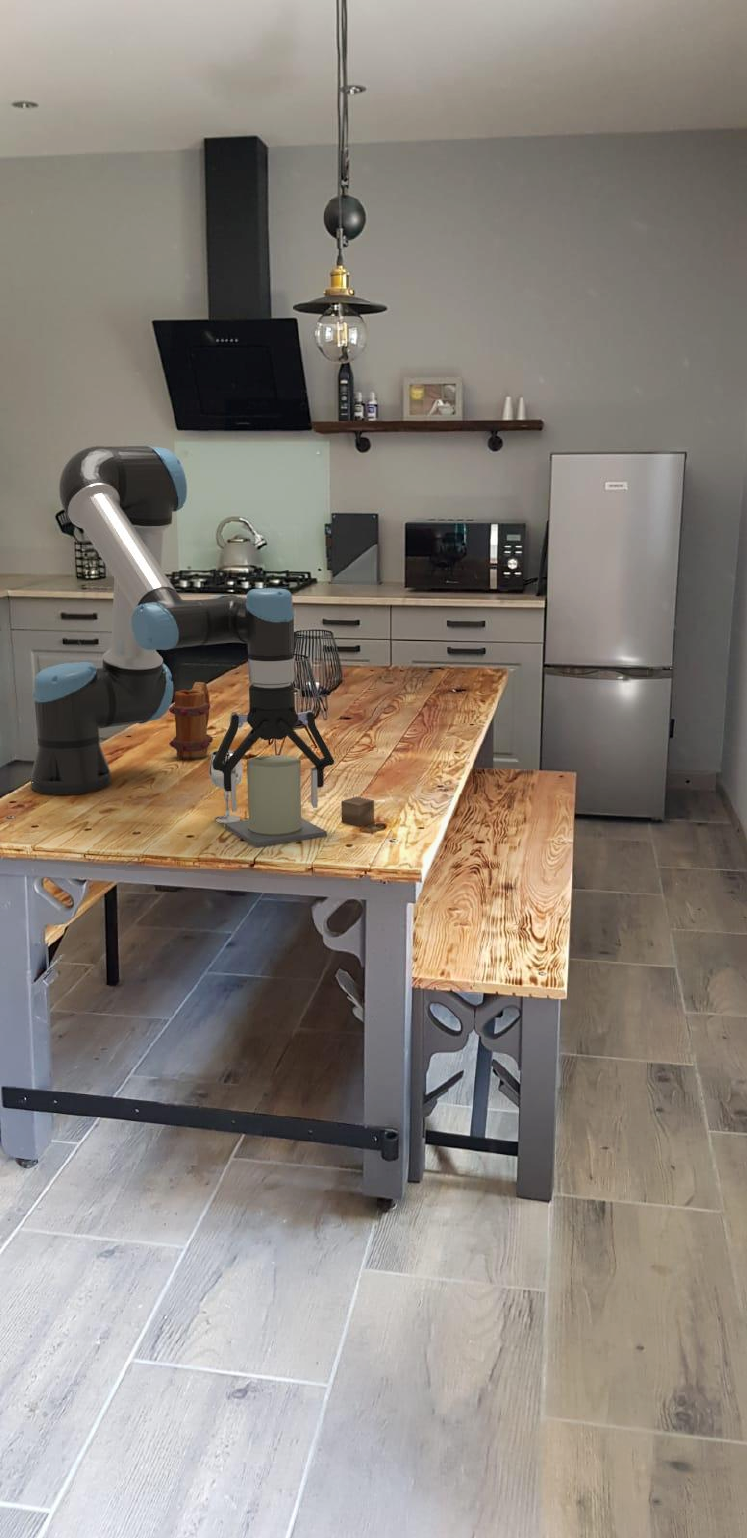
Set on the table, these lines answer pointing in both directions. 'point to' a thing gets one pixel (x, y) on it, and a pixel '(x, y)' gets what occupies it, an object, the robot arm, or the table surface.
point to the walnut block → (357, 811)
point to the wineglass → (218, 781)
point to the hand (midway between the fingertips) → (274, 807)
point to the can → (274, 794)
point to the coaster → (265, 840)
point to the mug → (191, 722)
